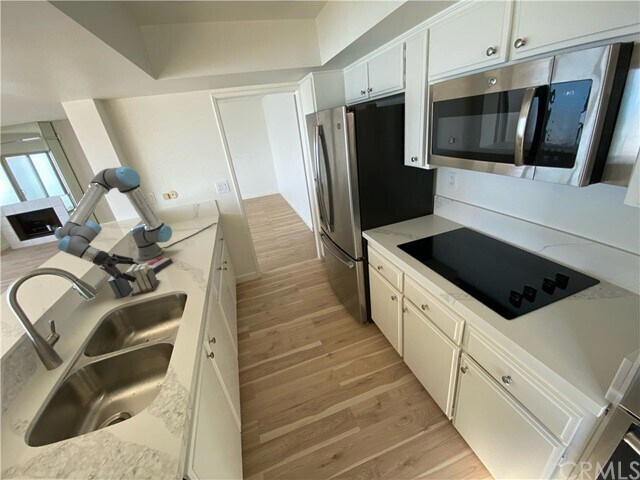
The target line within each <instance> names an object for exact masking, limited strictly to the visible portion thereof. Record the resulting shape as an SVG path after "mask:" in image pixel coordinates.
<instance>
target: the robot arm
mask: <svg viewBox="0 0 640 480" xmlns="http://www.w3.org/2000/svg"><path fill="white" fill-rule="evenodd" d="M140 183H141V177H140V174H139V173H138V171H136V170H135V169H134V168H132V167H129V166H119V167H111V168H105V169H102V170H100V171H99V172H98V173H97V174H95V176H94V177H93V178H92V179H91V181H90V182H89V184H88V189H87V190H86V192H85V193H84V195H83V197H82V198H81V200H80V201H79V203H78V204H77V205H76V207H75V208H74V210H73V212H72V213H71V214H70V216H69V217H68V219H67V221H66V222H65V223H64V225H63V226H60V227H57V228H56V229H55V230H54V236H55V238H56V239H57V240H60V241H59V242H58V243H57V246H56V247H57V249H58V250H59V251H60V252H61V251H62V252H64V253H65V254H68V255H70V256H74V257H76V258H79V259H81V260H84V261H86V262H89V263H92V264H94V265H96V266H98V267H99V270H103V271H104V272H106V274H108V275H109V276H111V277H113V278H115V279H119V278H123V279H125V280H128V281H129V282H130V281H131V282H134V281H135V280H136V277H133V276H131V275H128V274H126V272H122V271H121V270H120V269H119V268H118V267H117V265H130V267H131V265H133V264H137V265H140V264H141V263H138V262H136V261H135V259H134V258H133V257H129V256H126V255H125V256H124V255H119V254H116V253H112V254H111V255H110V253H109V252H107V251H105V250H101V249H100V248H98V247H95V246H94V245H93V246H92V245H90V244H91V243H92V242H93V241H94V240H95V239H96V238H97V236H99V234H100V233H101V231H102V229H103V228H102V226H101V225H100V224H99V223H97V222H95V221H91V220H90V218H91V217H92V215H93V213H94V212H95V211H96V209H97V207H98V206H99V204H100V202H102V199H103V198H104V196H105V195H108V194H109V192H110V191H111V190H113V189H117V190H118V192H119V194H121V195H122V194H123V195H124V196H125V197H126V199H127V200H128V202H129V203H130V205H131V207H132V208H133V209H134V211H135V213H136V214H137V215H138V217H139V219H140V220H141V222H142V224H139V225H136V226H134V227H132V228H131V230H130V233H131V236H132V238H133V240H134V243H135V245H136V247H137V252H138V253H137V256H138V259H139V260H141V261H148V260H152V259H156V258H158V257H160V256H161V255H162V254H163V253H164V251H163V249H167V248H169V247H172V246H173V245H175V244H178V243H179V242H182V241H185V240H186V239H189V238H191V237H192V236H195V235H197V234H199V233H200V232H202V231H204V230H206V229H208V228H210V227H212V226H213V225H217V224H218V223H217V222H213V223H212V224H209V225H208V226H206V227H205V228H203V229H201V230H199V231H197V232H195V233H193V234H191V235H189V236H186V237H184V238H182V239H179V240H177V241H175V242H173V243H171V244H169V245H167V246H163V247H160V245H159V244H158V243H161V244H162V243H167V242H169V241H170V240H171V239H172V236H173V230H172V228H171V226H169V225H167V224H165V223H164V222H163V221H162V220H161V219H159V218H158V217H157V215H156V213H155V212H154V210H153V209H152V207H151V205H150V204H149V202H148V201H147V199H146V197H145V195H144V194H143V193H142V191H141V189H140V188H141V184H140ZM122 273H123V274H122ZM115 275H116V276H115ZM131 282H130V283H131Z"/></svg>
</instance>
